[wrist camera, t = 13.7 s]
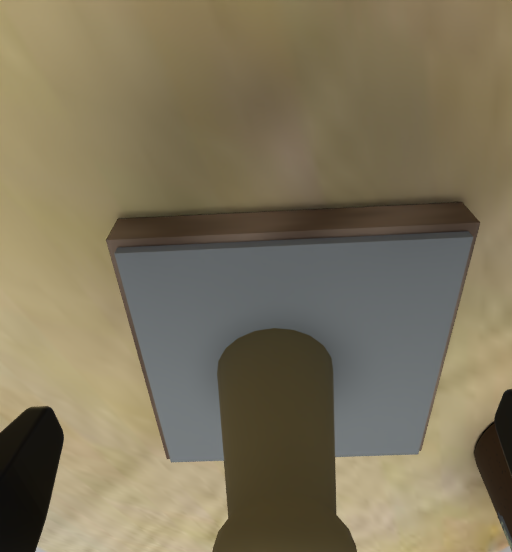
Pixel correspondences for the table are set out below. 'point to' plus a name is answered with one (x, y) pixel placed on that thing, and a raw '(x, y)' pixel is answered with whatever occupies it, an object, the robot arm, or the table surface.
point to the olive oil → (496, 477)
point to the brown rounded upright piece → (279, 445)
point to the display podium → (297, 311)
